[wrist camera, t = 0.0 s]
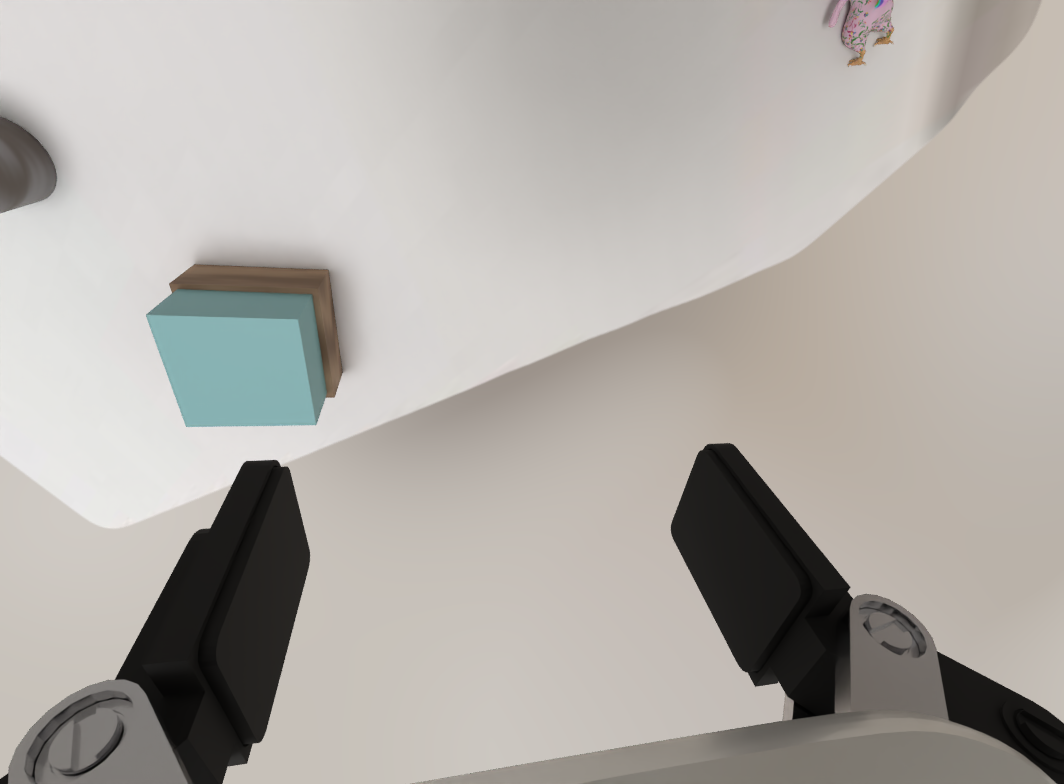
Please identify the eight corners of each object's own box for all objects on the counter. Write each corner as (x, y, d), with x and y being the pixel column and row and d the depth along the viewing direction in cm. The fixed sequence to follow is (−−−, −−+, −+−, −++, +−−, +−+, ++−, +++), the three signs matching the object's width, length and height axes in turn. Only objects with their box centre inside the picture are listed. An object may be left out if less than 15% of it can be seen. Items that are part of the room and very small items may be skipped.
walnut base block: (195, 263, 41) (169, 283, 37) (329, 268, 43) (317, 288, 39) (227, 370, 47) (207, 398, 43) (343, 370, 49) (334, 397, 45)
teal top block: (177, 289, 37) (145, 315, 33) (312, 294, 39) (297, 319, 35) (210, 393, 43) (186, 426, 38) (326, 393, 45) (316, 425, 41)
